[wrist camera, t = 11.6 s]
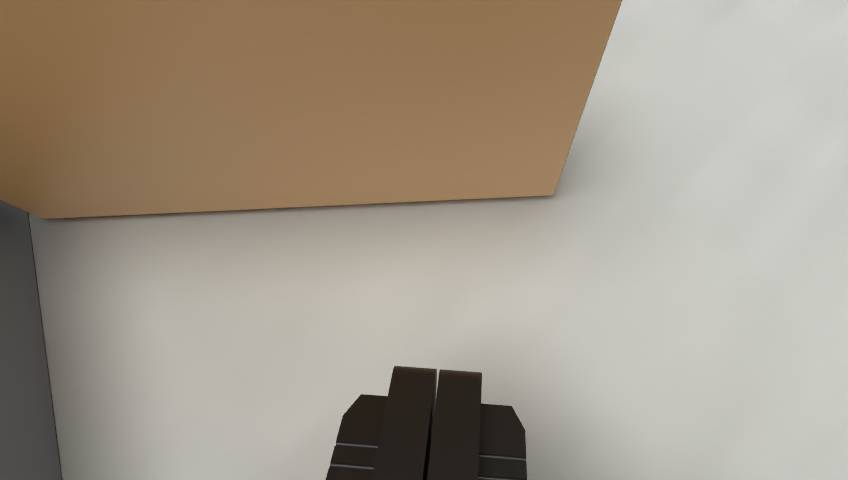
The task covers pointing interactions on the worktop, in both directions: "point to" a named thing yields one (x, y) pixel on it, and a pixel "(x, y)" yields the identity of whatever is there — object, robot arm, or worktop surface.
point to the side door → (288, 101)
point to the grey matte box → (23, 361)
